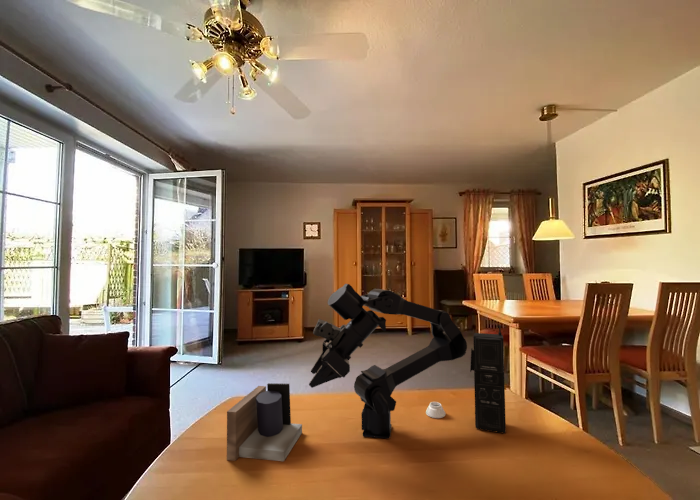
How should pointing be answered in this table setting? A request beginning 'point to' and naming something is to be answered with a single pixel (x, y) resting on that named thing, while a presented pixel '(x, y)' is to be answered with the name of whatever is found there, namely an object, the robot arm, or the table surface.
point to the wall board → (256, 433)
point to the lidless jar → (435, 410)
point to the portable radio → (489, 381)
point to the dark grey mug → (273, 409)
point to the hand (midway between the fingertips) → (311, 379)
